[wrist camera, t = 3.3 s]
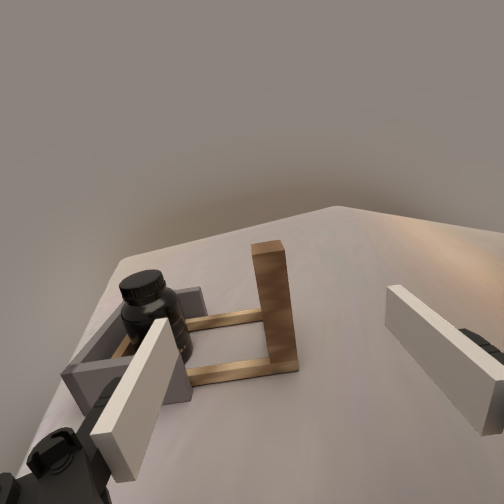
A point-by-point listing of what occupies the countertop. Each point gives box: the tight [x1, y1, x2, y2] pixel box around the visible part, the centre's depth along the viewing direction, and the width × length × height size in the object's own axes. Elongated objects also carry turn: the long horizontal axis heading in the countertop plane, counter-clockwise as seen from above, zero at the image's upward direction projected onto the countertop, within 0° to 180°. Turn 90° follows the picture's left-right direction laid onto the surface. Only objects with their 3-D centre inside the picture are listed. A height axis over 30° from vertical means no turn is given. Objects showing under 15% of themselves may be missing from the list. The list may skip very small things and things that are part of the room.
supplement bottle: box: [119, 269, 193, 363], centre depth 31 cm, size 7×7×12 cm
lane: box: [60, 287, 208, 416], centre depth 32 cm, size 12×14×6 cm
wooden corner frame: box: [111, 240, 299, 386], centre depth 30 cm, size 22×11×14 cm, turn 92°
